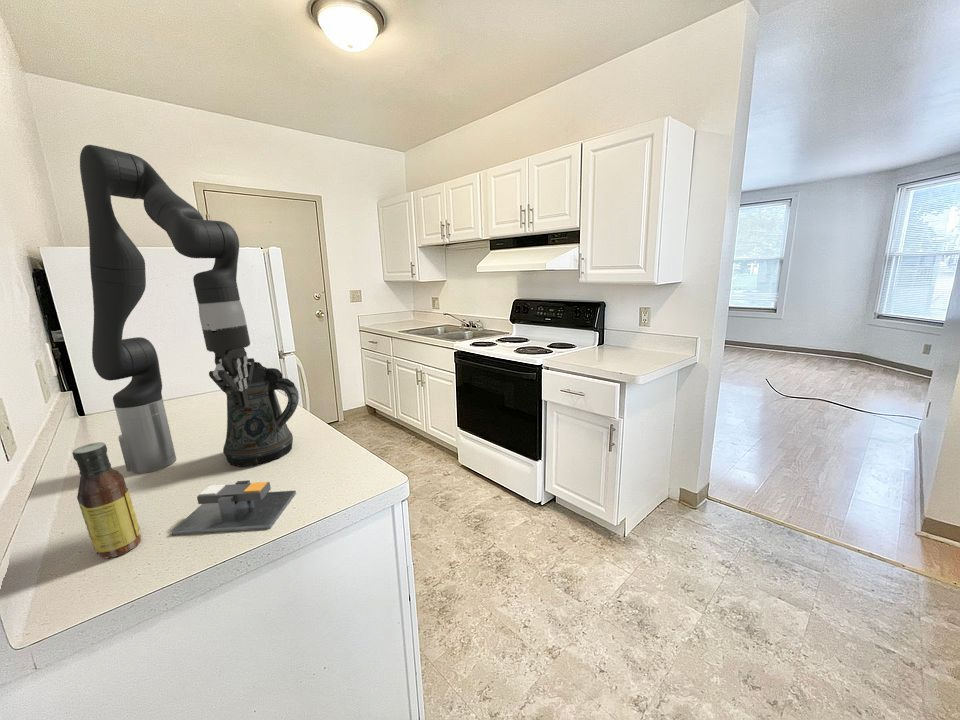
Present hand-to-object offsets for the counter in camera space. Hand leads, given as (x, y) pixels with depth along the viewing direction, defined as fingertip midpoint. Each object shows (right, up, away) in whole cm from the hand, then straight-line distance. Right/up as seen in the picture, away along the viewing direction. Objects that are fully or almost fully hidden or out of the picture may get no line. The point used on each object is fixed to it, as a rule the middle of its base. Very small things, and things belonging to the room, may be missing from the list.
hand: (242, 408), depth 82 cm
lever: (0, -17, -3) cm, 17 cm away
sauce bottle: (-15, -24, -11) cm, 30 cm away
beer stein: (-9, -15, +26) cm, 31 cm away
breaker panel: (+1, -21, -2) cm, 21 cm away
